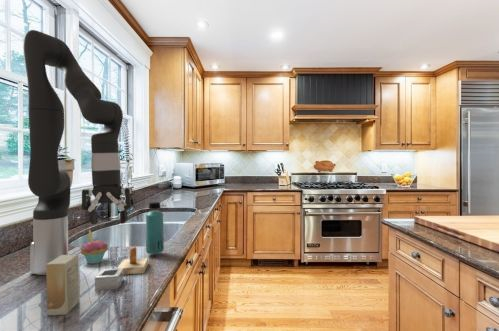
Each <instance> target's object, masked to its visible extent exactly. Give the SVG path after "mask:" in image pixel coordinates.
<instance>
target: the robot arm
mask: <svg viewBox="0 0 499 331" xmlns="http://www.w3.org/2000/svg"><path fill="white" fill-rule="evenodd" d="M22 45H23V46H22V48H23V58H24V64H25V72H26V79H27V93H28V99H27V100H28V104H27V105H28V109H27V110H28V127H29V130H28V131H29V148H30V150H29V152H30V153H29V154H30V155H29V156H30V157H29V167H28V177H27V183H28V184H27V185H28V188H29V190H30V192H31V193H32V195H35V196H36V197H38V201H37V204H36V206H35V208H34V209H33V211H32V217H33V218H32V219H33V220H32V223H33V224H32V226H33V227H32V228H33V230H32V232H33V241H32V242H31V243H30V245H29V247H30V248H29V252H30V253H29V257H30V258H29V260H30V261H29V263H30V275H31V274H32V275H34V274H35V275H38V276H45V275H46V264H48V263H49V262H51V261H52V260H54V259H55V258H57V257H59V256H60V255H69V209H70V205H71V187H72V186H71V178H70V176H69V174H68V172H67V171H66V170H64V169H63V168H60V167H59V158H58V157H59V148H60V145H61V142H62V138H63V135H64V131H65V108H64V105H63V102H62V100H61V98H60V97H59V96H58V93H57V91H55V89H54V88H53V86H52V84H51V82H50V80H49V78H48V74H47V68H46V66H49V67H52V68H56V69H58V70H59V71H61V72H62V73H63V74H64V77H63V84H64V86H65V88H66V90H67V91H68V92H69V94H70V95H71V96H72V97H73V98H74V100H75V101H76V102H77V105H78V108H79V109H80V114H81V115H82V118H84V119H85V120H86V121H87V122H89V123H91V124H95V125H103V128H102V130H101V131H100V132H96V133H93V134H91V136H90V137H91V138H90V144H91V148H90V149H91V159H90V160H91V161H90V162H91V163H90V164H91V167H90V168H91V182H92V189H90V188H86V189H82V190H81V210H82V211H86V212H87V211H88V215H89V216H88V217H89V222H90V224H91V225H96V224H98V223H99V220H98V219H99V218H98V210H97V209H98V208H99V206H100V205H104V204H114V205H115V207H118V209H119V210H120V211H119V220H120V221H119V222H120V224H121V225H123V224H126V223H127V221H128V219H129V216H128V215H129V214H128V210H129V209H131V208H134V206H135V203H134V195H133V194H134V192H133V188H132V187H131V186H130V187H125V188H122V175H121V161H120V156H119V155H120V153H119V152H120V151H119V136H120V132H121V127H122V124H123V120H124V119H123V118H124V114H123V110H122V108H121V106H120V105H119V104H118V103H117V102H114V101H110V100H104V99H102V93H101V90H100V89H99V87H97V85H96V84H94V82H93V81H92V80H91V79H90V77H88V76H87V74H86V73H85V72H84V71H83V69H82V67H81V66H80V64H79V63H78V61H77V59H76V57H75V55H74V53H73V52H72V51H71V48H70V47H69V46H68V44H66V42H64V41H63V40H61V39H59V38H58V37H54V36H52V35H50V34H48V33H44V32H41V31H39V30H35V29H31V30H29V31H27V32H26V34H25V35H24V39H23V44H22ZM121 195H123V196H124V198H125V200H124V199H123V197H122V196H121ZM92 196H94V199H93V200H92ZM46 276H47V275H46Z"/></svg>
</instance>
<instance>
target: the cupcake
mask: <svg viewBox="0 0 499 331" xmlns="http://www.w3.org/2000/svg"><path fill="white" fill-rule="evenodd" d="M88 235H89V241H88V242H85V243H84V244H83V245H82V246H81V248H80V253H81V255H83V256H84V258H85V260H86V263H87V264H89V265H90V264H98V263H100V262H103V259H104V256H105V253H106V252H107V251H108V250H109V245H108V243H107V242H104V241H103V240H100V239H99V240H93V235H92V231H91V229H90V228H89V229H88Z"/></svg>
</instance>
